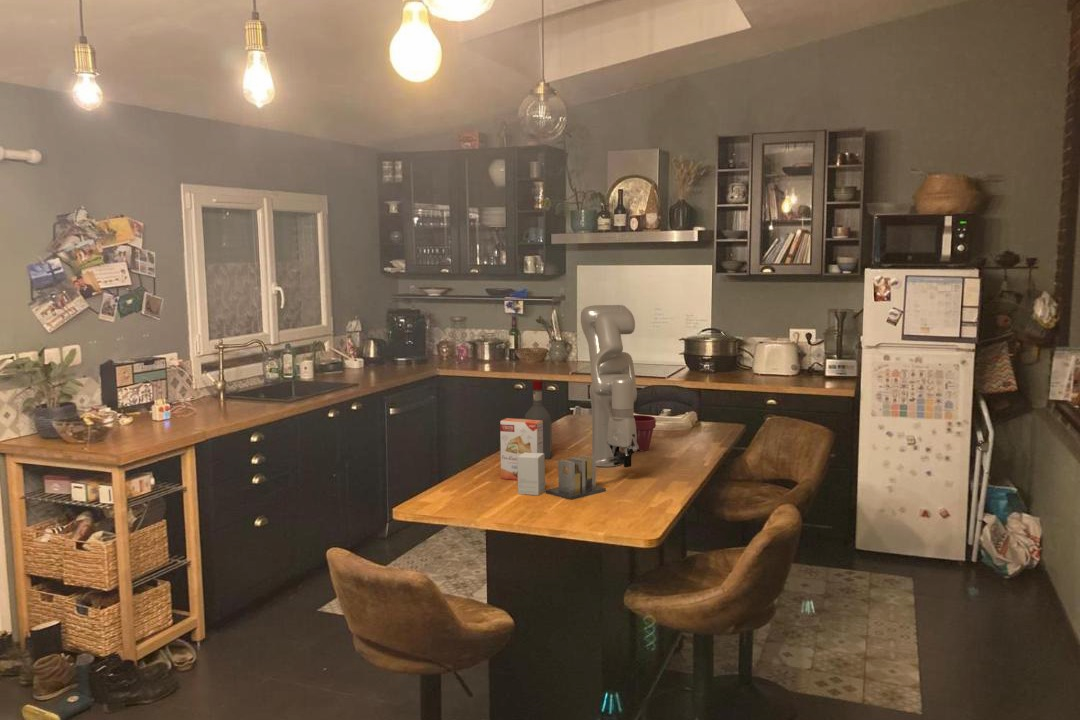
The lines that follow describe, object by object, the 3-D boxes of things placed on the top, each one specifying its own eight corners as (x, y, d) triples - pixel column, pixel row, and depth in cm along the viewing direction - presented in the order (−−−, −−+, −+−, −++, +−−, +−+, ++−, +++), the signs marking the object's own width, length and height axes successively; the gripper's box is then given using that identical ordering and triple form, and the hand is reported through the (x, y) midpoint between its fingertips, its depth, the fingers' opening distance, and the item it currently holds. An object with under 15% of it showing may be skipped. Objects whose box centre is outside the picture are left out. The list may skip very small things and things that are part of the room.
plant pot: (662, 449, 358) (663, 418, 357) (636, 454, 350) (636, 421, 349) (639, 443, 370) (639, 413, 369) (613, 448, 362) (613, 416, 361)
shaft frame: (579, 484, 302) (579, 452, 301) (605, 491, 294) (605, 458, 293) (545, 493, 292) (545, 460, 291) (571, 500, 283) (571, 465, 282)
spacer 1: (567, 487, 294) (567, 470, 294) (580, 491, 290) (580, 473, 289) (562, 489, 293) (562, 471, 292) (575, 492, 288) (575, 474, 288)
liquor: (541, 454, 351) (540, 378, 348) (554, 458, 344) (554, 381, 340) (521, 457, 346) (521, 380, 343) (534, 461, 339) (533, 383, 335)
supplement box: (545, 490, 295) (545, 453, 294) (538, 496, 288) (538, 457, 287) (524, 488, 298) (524, 451, 296) (517, 494, 291) (516, 456, 289)
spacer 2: (579, 475, 298) (579, 457, 297) (592, 478, 293) (592, 460, 293) (574, 476, 296) (574, 458, 295) (587, 479, 292) (587, 461, 291)
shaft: (620, 461, 310) (620, 450, 309) (629, 463, 307) (629, 452, 306) (579, 471, 296) (579, 459, 296) (587, 473, 293) (587, 461, 293)
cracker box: (500, 479, 311) (499, 420, 309) (507, 475, 317) (506, 417, 315) (537, 482, 306) (536, 422, 304) (543, 478, 312) (543, 419, 309)
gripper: (597, 411, 309) (597, 463, 311) (633, 417, 297) (633, 471, 299) (612, 409, 314) (612, 460, 316) (648, 414, 302) (648, 467, 304)
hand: (622, 465), depth 308 cm, fingers closed on shaft, 4 cm apart
